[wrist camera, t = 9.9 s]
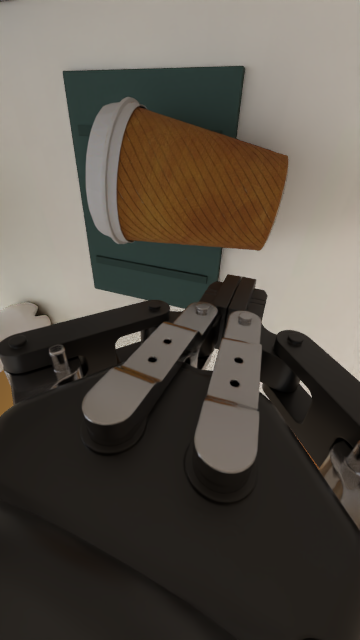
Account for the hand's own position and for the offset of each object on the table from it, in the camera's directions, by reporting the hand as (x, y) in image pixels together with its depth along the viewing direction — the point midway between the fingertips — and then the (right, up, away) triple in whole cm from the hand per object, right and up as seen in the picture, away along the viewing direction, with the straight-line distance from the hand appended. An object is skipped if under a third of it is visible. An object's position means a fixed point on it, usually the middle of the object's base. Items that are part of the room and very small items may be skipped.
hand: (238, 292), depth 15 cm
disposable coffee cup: (+4, +7, +5) cm, 9 cm away
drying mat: (-6, +9, +12) cm, 16 cm away
